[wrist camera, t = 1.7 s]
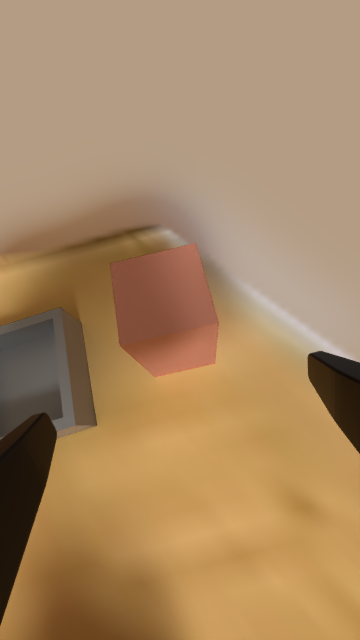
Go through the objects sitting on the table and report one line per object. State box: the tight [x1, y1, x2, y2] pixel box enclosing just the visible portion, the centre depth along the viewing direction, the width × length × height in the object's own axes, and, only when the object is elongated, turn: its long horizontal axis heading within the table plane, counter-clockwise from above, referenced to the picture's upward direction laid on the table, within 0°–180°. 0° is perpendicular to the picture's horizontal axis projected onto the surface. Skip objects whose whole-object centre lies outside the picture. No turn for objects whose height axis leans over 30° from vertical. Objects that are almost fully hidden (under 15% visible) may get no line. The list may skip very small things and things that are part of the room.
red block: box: [110, 243, 219, 377], centre depth 18 cm, size 5×5×9 cm
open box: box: [0, 307, 97, 439], centre depth 20 cm, size 9×9×4 cm
